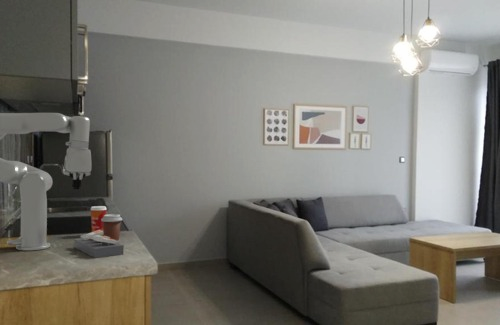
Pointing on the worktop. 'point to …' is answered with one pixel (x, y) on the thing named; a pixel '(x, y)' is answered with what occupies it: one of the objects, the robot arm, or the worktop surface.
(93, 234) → the plate
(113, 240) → the rocker near
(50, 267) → the worktop surface
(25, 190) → the robot arm
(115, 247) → the rocker switch panel
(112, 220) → the coffee cup
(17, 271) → the worktop surface
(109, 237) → the rocker middle
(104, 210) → the paper cup
